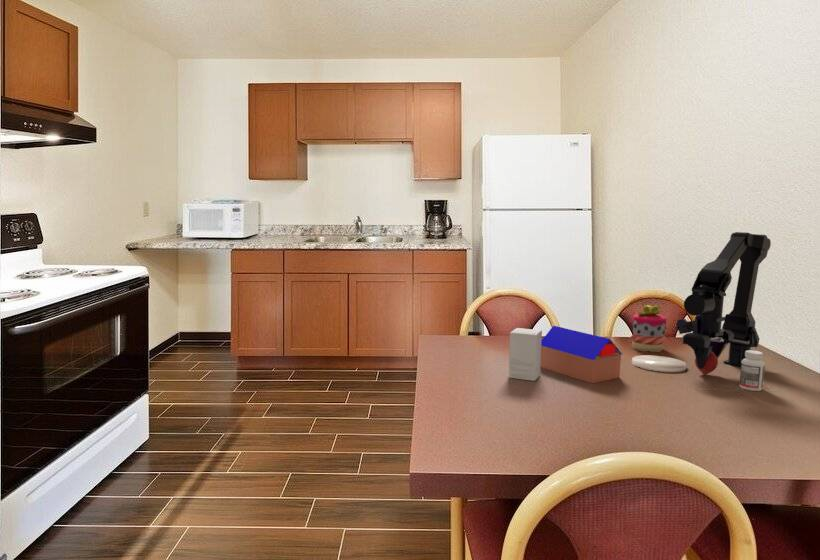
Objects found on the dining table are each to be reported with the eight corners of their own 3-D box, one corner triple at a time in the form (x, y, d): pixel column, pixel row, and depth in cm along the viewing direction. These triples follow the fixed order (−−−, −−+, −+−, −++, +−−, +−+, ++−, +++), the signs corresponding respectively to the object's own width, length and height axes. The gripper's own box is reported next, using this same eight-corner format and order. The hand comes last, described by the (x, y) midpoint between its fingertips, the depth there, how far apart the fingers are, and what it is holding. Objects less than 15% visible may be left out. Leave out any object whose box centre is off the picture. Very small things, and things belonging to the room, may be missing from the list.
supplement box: (540, 375, 168) (543, 329, 166) (534, 381, 161) (536, 334, 159) (514, 371, 171) (516, 327, 169) (507, 377, 164) (509, 331, 162)
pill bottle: (747, 384, 164) (751, 348, 162) (767, 390, 159) (770, 353, 157) (734, 386, 161) (737, 350, 160) (753, 392, 156) (757, 355, 155)
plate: (648, 356, 192) (648, 352, 191) (695, 367, 180) (696, 363, 180) (622, 363, 182) (622, 359, 182) (669, 375, 171) (670, 371, 171)
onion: (719, 378, 169) (722, 349, 168) (696, 375, 170) (699, 347, 169) (713, 373, 174) (716, 345, 174) (691, 371, 175) (694, 343, 175)
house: (565, 361, 184) (567, 323, 182) (621, 378, 167) (624, 336, 166) (536, 366, 177) (539, 327, 175) (592, 384, 160) (594, 341, 159)
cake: (625, 344, 208) (628, 301, 206) (654, 344, 209) (657, 301, 207) (639, 352, 197) (643, 306, 196) (670, 352, 199) (674, 306, 197)
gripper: (698, 306, 182) (693, 357, 184) (666, 310, 170) (661, 365, 172) (737, 311, 174) (731, 365, 175) (706, 317, 162) (700, 374, 164)
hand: (705, 367), depth 172 cm, fingers closed on onion, 6 cm apart
